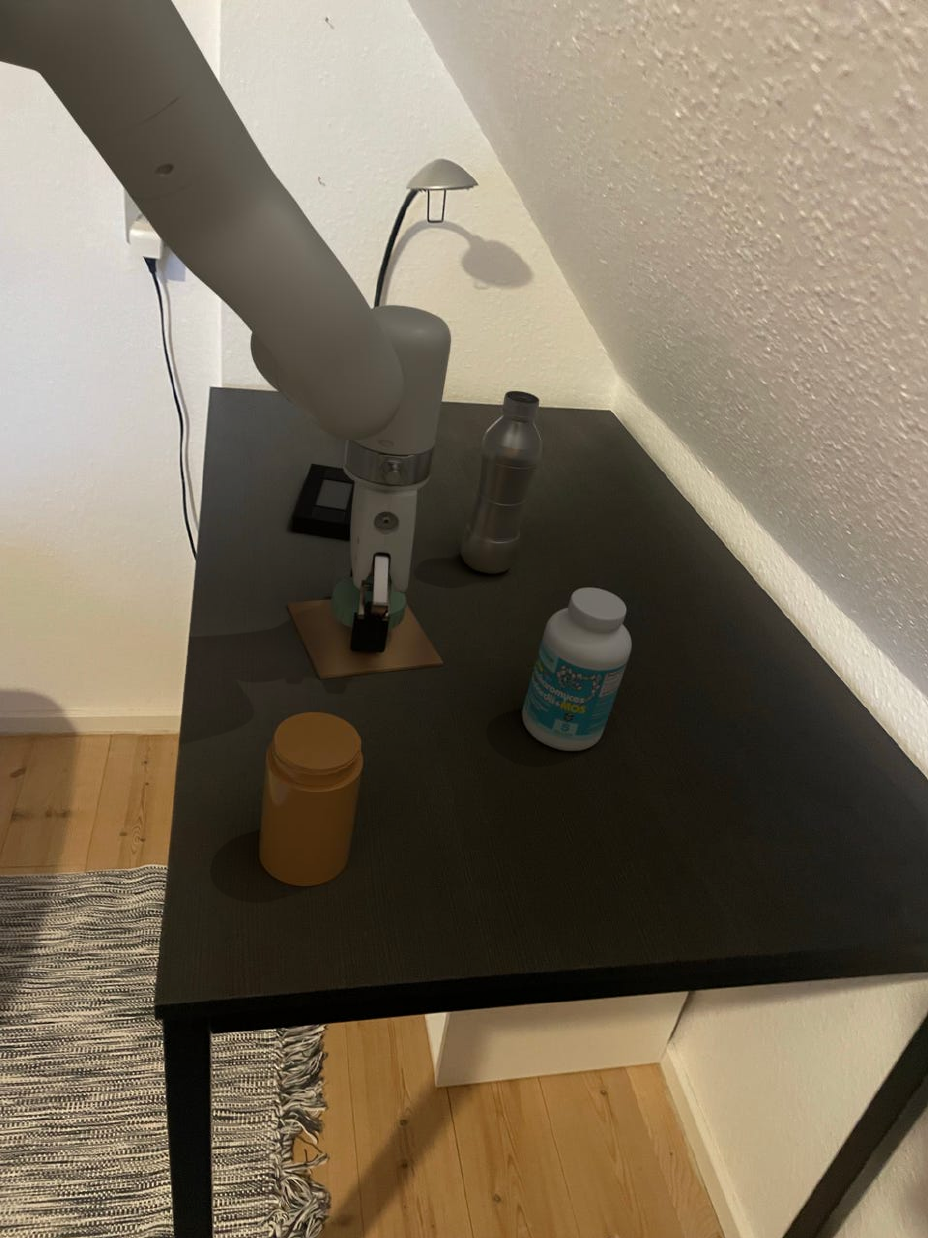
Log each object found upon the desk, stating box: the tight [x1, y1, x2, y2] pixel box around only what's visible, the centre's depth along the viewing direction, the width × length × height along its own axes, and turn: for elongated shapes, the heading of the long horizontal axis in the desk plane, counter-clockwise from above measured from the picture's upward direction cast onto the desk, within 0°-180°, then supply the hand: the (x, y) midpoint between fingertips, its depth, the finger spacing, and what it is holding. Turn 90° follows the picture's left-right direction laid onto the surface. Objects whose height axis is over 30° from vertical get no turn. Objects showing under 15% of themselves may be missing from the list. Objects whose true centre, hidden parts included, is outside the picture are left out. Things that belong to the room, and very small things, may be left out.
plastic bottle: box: [460, 390, 543, 574], centre depth 102 cm, size 6×7×20 cm
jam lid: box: [330, 576, 407, 630], centre depth 89 cm, size 7×7×2 cm
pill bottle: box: [521, 587, 633, 752], centre depth 81 cm, size 8×7×14 cm
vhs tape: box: [290, 463, 355, 541], centre depth 111 cm, size 8×14×2 cm, turn 178°
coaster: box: [286, 598, 444, 680], centre depth 91 cm, size 12×12×1 cm
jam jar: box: [258, 711, 364, 887], centre depth 65 cm, size 6×6×11 cm
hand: (365, 625), depth 91 cm, fingers closed on jam lid, 6 cm apart
